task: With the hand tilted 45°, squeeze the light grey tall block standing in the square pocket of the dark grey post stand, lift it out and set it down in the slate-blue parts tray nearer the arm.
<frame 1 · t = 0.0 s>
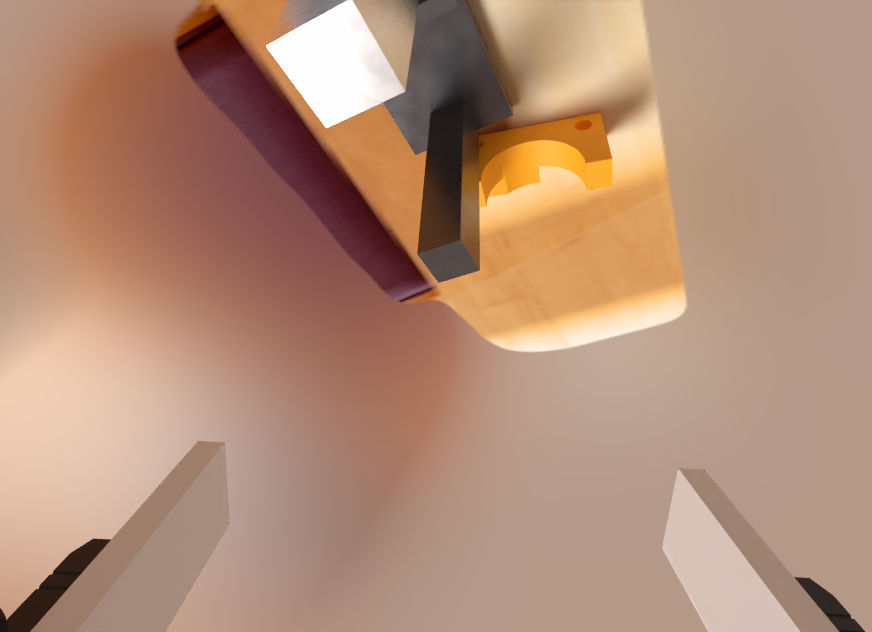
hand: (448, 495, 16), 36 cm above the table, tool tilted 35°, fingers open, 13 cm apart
dark grey post stand: (408, 23, 40), on the table
pipe clamp: (530, 144, 48), on the table
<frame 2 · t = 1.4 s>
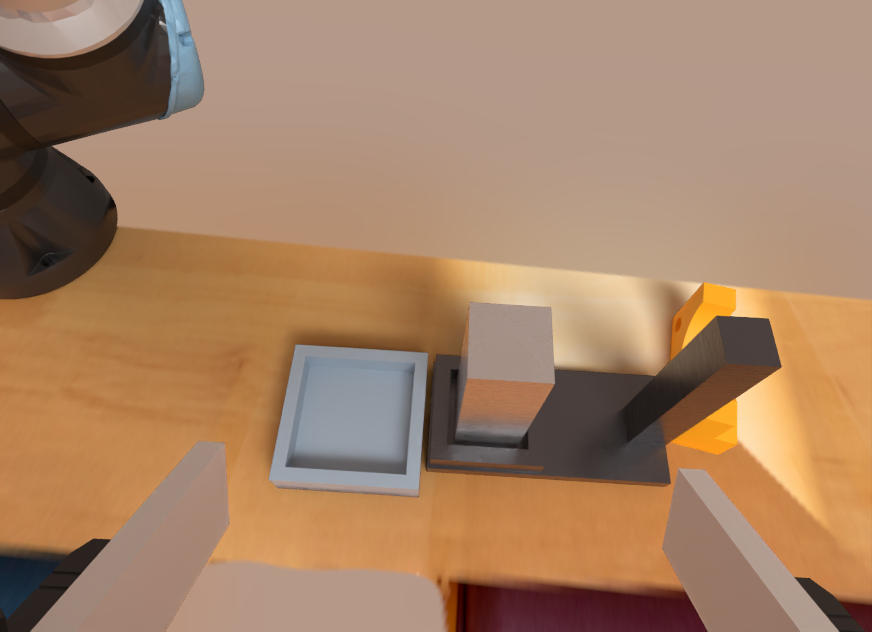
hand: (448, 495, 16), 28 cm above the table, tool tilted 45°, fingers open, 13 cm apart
dark grey post stand: (543, 424, 46), on the table
parts tray: (357, 424, 45), on the table
pipe clamp: (692, 383, 48), on the table
light grey tall block: (485, 415, 45), point 1 cm above the table, touching dark grey post stand
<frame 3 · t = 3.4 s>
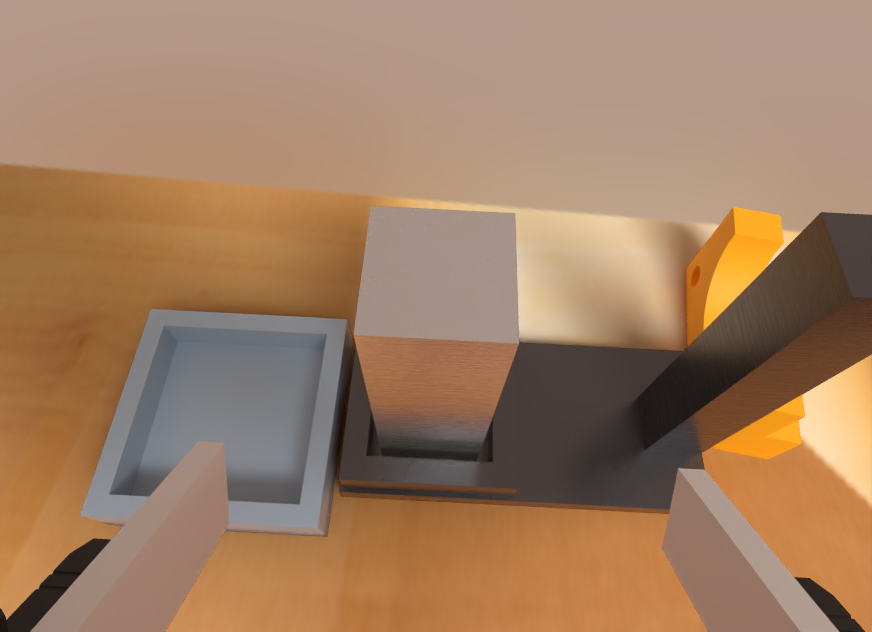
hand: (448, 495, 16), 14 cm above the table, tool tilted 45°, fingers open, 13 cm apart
dark grey post stand: (519, 423, 31), on the table
parts tray: (243, 426, 31), on the table
pipe clamp: (720, 358, 34), on the table
light grey tall block: (432, 411, 30), point 1 cm above the table, touching dark grey post stand
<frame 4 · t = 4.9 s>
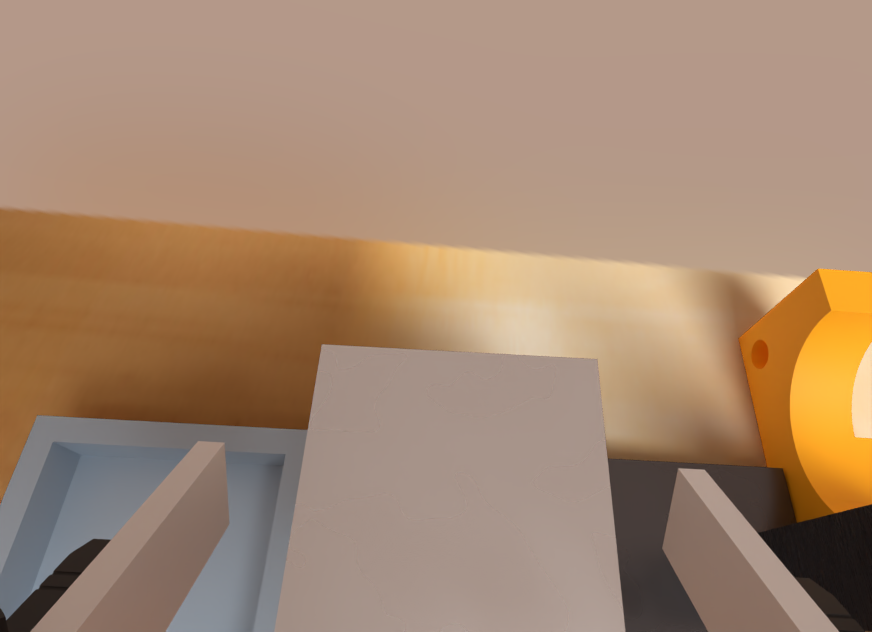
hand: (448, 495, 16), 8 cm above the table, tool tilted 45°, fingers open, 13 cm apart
dark grey post stand: (558, 575, 22), on the table
parts tray: (167, 581, 22), on the table
pipe clamp: (808, 463, 25), on the table, touching dark grey post stand
light grey tall block: (435, 566, 21), point 1 cm above the table, touching dark grey post stand
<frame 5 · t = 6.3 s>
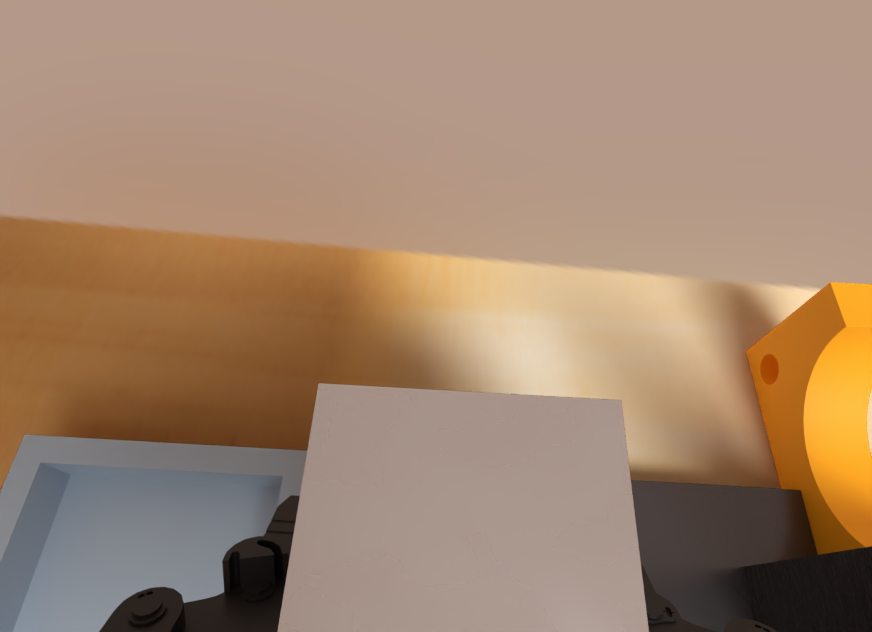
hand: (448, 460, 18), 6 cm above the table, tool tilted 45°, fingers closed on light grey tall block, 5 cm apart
dark grey post stand: (567, 602, 21), on the table
parts tray: (159, 608, 21), on the table
pipe clamp: (822, 481, 24), on the table
light grey tall block: (438, 593, 20), point 1 cm above the table, touching gripper, dark grey post stand
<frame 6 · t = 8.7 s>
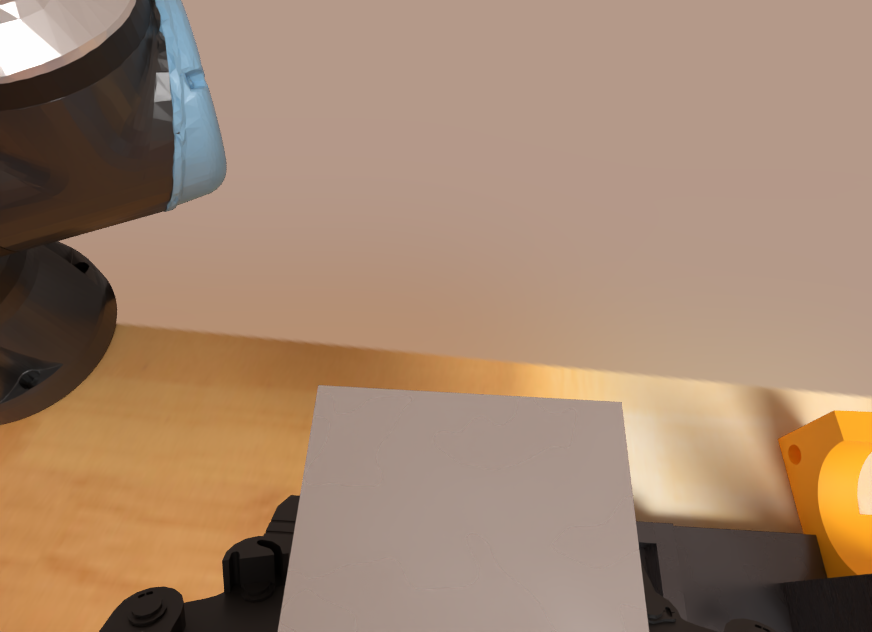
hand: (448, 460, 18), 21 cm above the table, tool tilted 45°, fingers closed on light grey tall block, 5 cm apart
dark grey post stand: (674, 603, 35), on the table
pipe clamp: (829, 527, 38), on the table, touching dark grey post stand
light grey tall block: (438, 594, 20), point 16 cm above the table, touching gripper
when the fingers open (7 cm above the table, at t = 11.6 s): light grey tall block drops 1 cm, resting on parts tray.
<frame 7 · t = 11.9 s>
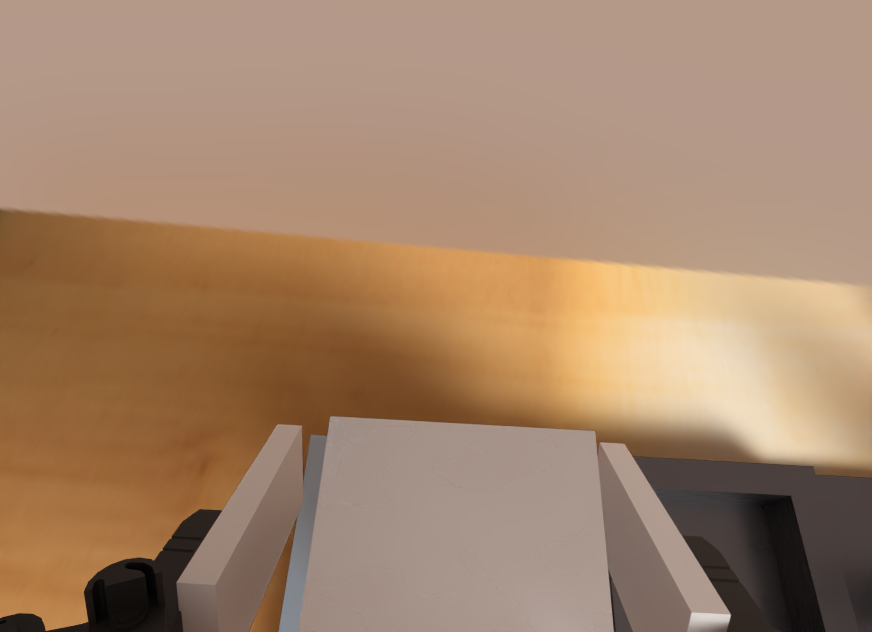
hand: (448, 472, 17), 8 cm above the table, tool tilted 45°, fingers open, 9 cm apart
dark grey post stand: (810, 590, 23), on the table
parts tray: (436, 596, 22), on the table
light grey tall block: (437, 597, 21), point 1 cm above the table, touching parts tray
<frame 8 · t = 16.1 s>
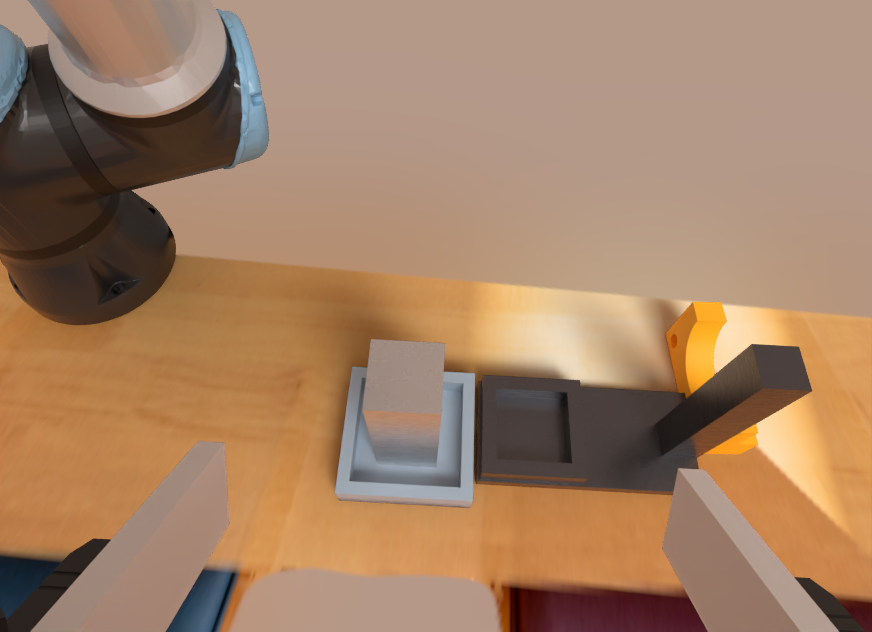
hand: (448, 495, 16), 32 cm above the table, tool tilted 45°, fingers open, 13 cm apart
dark grey post stand: (582, 438, 49), on the table
parts tray: (409, 440, 49), on the table
pipe clamp: (698, 392, 52), on the table
light grey tall block: (409, 437, 48), point 1 cm above the table, touching parts tray
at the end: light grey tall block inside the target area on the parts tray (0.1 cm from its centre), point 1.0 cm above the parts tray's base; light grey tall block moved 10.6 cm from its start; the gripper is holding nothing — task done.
